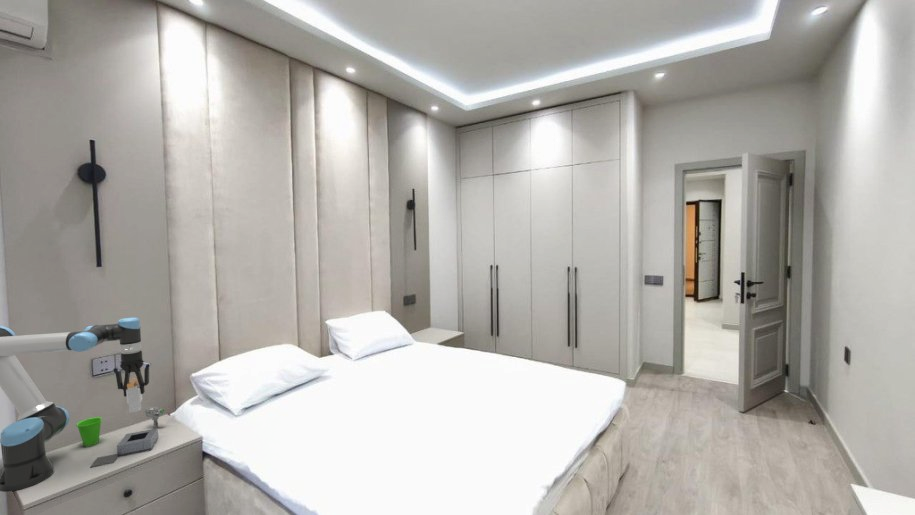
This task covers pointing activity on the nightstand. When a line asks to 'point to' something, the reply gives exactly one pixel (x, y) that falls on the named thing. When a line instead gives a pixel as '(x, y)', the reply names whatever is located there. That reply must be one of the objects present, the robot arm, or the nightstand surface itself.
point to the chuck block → (137, 442)
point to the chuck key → (133, 395)
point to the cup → (90, 430)
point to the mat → (104, 460)
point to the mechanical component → (154, 414)
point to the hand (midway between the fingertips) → (134, 401)
